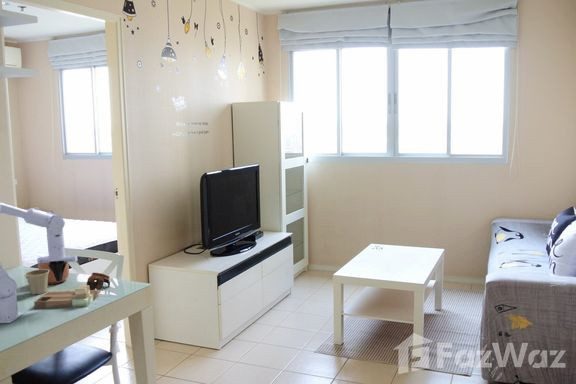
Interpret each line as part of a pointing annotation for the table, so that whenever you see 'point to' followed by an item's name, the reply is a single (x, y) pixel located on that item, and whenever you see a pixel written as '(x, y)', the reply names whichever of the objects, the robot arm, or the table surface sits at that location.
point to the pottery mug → (97, 281)
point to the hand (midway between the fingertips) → (59, 280)
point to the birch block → (82, 292)
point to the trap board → (64, 299)
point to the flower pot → (37, 281)
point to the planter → (51, 275)
